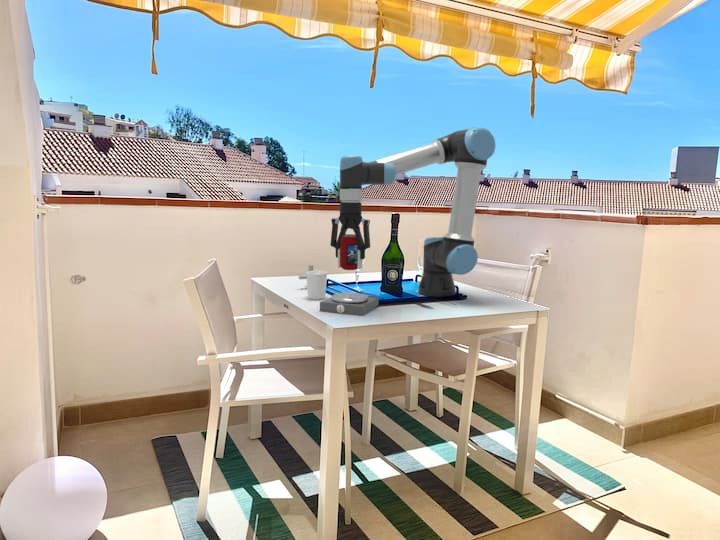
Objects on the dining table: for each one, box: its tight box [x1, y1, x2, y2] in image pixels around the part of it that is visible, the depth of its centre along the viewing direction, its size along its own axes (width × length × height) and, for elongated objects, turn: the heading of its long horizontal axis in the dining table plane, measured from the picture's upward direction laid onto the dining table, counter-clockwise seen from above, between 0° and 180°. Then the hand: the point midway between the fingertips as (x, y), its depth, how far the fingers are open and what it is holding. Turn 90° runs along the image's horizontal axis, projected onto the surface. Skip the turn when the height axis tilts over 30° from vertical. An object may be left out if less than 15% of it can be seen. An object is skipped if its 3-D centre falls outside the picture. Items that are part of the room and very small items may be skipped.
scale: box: [319, 294, 379, 316], centre depth 176 cm, size 16×17×3 cm
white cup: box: [305, 270, 328, 301], centre depth 191 cm, size 8×8×10 cm
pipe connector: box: [298, 264, 314, 280], centre depth 209 cm, size 10×10×10 cm
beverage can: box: [340, 233, 360, 271], centre depth 173 cm, size 7×7×12 cm
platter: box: [331, 292, 368, 304], centre depth 176 cm, size 13×13×1 cm
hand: (350, 267), depth 174 cm, fingers closed on beverage can, 7 cm apart
